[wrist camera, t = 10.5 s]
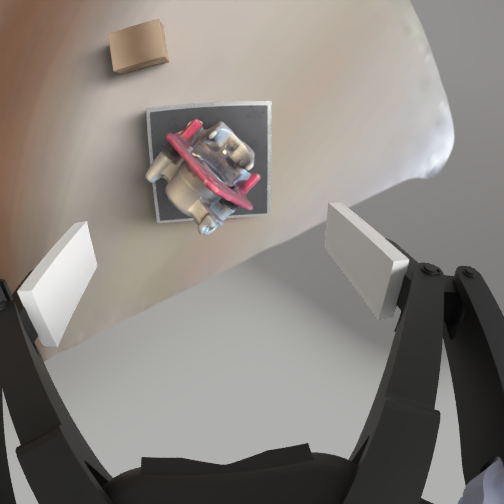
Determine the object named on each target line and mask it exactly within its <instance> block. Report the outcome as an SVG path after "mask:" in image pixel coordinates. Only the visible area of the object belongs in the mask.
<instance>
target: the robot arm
mask: <svg viewBox="0 0 504 504" xmlns="http://www.w3.org/2000/svg"><path fill="white" fill-rule="evenodd" d="M324 248H325V249H326V251H327V252H328V253H329V255H330V256H331V257H332V259H333V260H334V261H335V263H336V264H337V265H338V267H339V268H340V269H341V270H342V272H343V273H344V274H345V276H346V277H347V278H348V280H349V281H350V282H351V284H352V285H353V286H354V287H355V289H356V290H357V292H358V293H359V294H360V296H361V297H362V298H363V300H364V301H365V303H366V304H367V305H368V307H369V308H370V309H371V311H372V312H373V313H374V315H375V316H376V318H377V319H378V320H381V319H386V318H391V317H393V315H394V312H395V309H396V306H398V307H399V308H400V309H401V314H400V317H399V320H398V323H397V326H396V328H395V336H394V340H393V343H392V347H391V351H390V354H389V357H388V360H387V364H386V367H385V370H384V373H383V377H382V380H381V382H380V385H379V388H378V391H377V394H376V397H375V400H374V403H373V405H372V408H371V410H370V413H369V416H368V418H367V421H366V423H365V426H364V428H363V430H362V433H361V435H360V438H359V440H358V442H357V445H356V447H355V449H354V451H353V452H352V454H351V456H350V458H349V460H347V459H345V458H342V457H339V456H336V455H331V454H326V453H312V452H311V451H310V448H309V445H308V443H306V444H301V445H296V446H292V447H286V448H281V449H274V450H268V451H265V452H262V453H260V454H257V455H254V456H252V457H249V458H246V459H243V460H240V461H237V462H234V463H231V464H227V465H220V464H213V463H207V462H201V461H195V460H190V459H185V458H150V457H142V460H141V467H139V468H135V469H132V470H129V471H126V472H124V473H122V474H120V475H118V476H116V477H114V478H112V476H111V475H110V474H109V473H108V472H107V471H106V470H105V468H104V467H103V466H102V465H101V463H100V462H99V460H98V459H97V458H96V456H95V454H94V453H93V451H92V450H91V448H90V447H89V445H88V444H87V443H86V441H85V439H84V438H83V436H82V435H81V433H80V431H79V429H78V428H77V426H76V424H75V423H74V421H73V419H72V418H71V416H70V414H69V412H68V410H67V409H66V407H65V405H64V403H63V401H62V399H61V398H60V396H59V394H58V392H57V390H56V388H55V386H54V384H53V382H52V380H51V377H50V375H49V373H48V371H47V369H46V366H45V364H44V362H43V360H42V357H41V355H40V352H39V350H38V348H37V346H36V344H35V340H36V338H37V336H38V337H39V339H40V341H41V343H42V345H43V347H58V345H59V343H60V341H61V338H62V336H63V334H64V332H65V329H66V327H67V325H68V323H69V321H70V319H71V317H72V315H73V313H74V310H75V308H76V306H77V304H78V302H79V300H80V298H81V296H82V294H83V293H84V291H85V289H86V287H87V285H88V283H89V281H90V279H91V277H92V275H93V274H94V272H95V270H96V268H97V266H98V265H97V262H96V258H95V254H94V250H93V246H92V242H91V238H90V233H89V229H88V225H87V221H84V222H76V223H74V224H73V225H72V226H71V227H70V228H69V230H68V231H67V232H66V233H65V234H64V235H63V236H62V237H61V238H60V239H59V241H58V242H57V243H56V244H55V245H54V246H53V247H52V249H51V250H50V251H49V252H48V253H47V254H46V256H45V257H44V258H43V259H42V260H41V262H40V263H39V264H38V265H37V266H36V268H34V269H33V270H32V271H30V272H29V274H28V275H27V276H26V277H25V279H24V280H23V281H22V282H21V284H20V285H19V286H18V288H17V289H16V290H15V292H14V293H13V294H12V295H11V293H10V290H9V288H8V285H7V283H6V281H5V280H4V279H0V504H16V501H15V497H14V492H13V488H12V483H11V478H10V472H9V466H8V460H7V453H6V446H5V435H4V424H3V404H2V388H3V392H4V396H5V399H6V403H7V406H8V409H9V412H10V416H11V419H12V421H13V424H14V427H15V430H16V433H17V435H18V438H19V441H20V444H21V445H20V446H19V447H17V448H16V454H17V458H18V460H19V463H20V465H21V467H22V469H23V472H24V474H25V476H26V479H27V481H28V483H29V485H30V487H31V489H32V491H33V493H34V495H35V497H36V499H37V501H38V503H39V504H433V503H431V502H429V501H426V500H424V499H422V498H421V496H422V492H423V489H424V486H425V483H426V479H427V475H428V472H429V469H430V465H431V460H432V457H433V452H434V448H435V444H436V438H437V433H438V429H439V424H440V412H439V411H437V410H434V408H435V400H436V394H437V388H438V380H439V372H440V363H441V352H442V339H444V343H445V348H446V352H447V357H448V361H449V366H450V371H451V377H452V382H453V388H454V393H455V400H456V406H457V414H458V422H459V432H460V443H461V457H462V467H463V474H464V479H465V484H466V487H465V489H464V492H463V497H462V498H460V500H459V502H458V504H504V316H503V314H502V312H501V310H500V308H499V306H498V304H497V302H496V300H495V299H494V297H493V295H492V293H491V291H490V290H489V288H488V286H487V284H486V283H485V281H484V279H483V277H482V276H481V274H480V273H479V272H478V271H476V270H475V269H474V268H472V267H470V266H468V267H467V266H459V267H458V268H457V269H456V272H455V275H454V276H446V275H444V274H443V272H442V270H441V269H440V268H438V267H436V266H434V265H432V264H429V263H418V262H417V261H415V260H414V259H413V258H412V257H411V256H410V255H409V254H407V253H405V251H404V250H403V249H401V248H400V247H399V246H398V245H397V244H396V243H394V242H393V241H391V240H389V239H387V238H384V237H383V236H381V235H380V234H379V233H378V232H377V231H376V230H374V229H373V228H372V227H371V226H369V225H368V224H367V223H366V222H365V221H364V220H362V219H361V218H360V217H359V216H357V215H356V214H355V213H354V212H352V211H351V210H350V209H349V208H347V207H346V206H345V205H344V204H342V203H328V214H327V225H326V236H325V246H324Z"/></svg>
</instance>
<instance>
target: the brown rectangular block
mask: <svg viewBox="0 0 504 504" xmlns="http://www.w3.org/2000/svg"><path fill="white" fill-rule="evenodd" d="M108 35H109V43H110V51H111V58H112V65H113V71H114V72H117V73H120V74H125V73H129V72H132V71H135V70H139V69H142V68H146V67H149V66H153V65H157V64H161V63H165V62H169V58H168V52H167V45H166V39H165V32H164V27H163V25H162V23H161V22H160V20H159V19H157V20H153V21H149V22H145V23H142V24H138V25H135V26H132V27H128V28H125V29H122V30H119V31H116V32H113V33H110V34H108Z"/></svg>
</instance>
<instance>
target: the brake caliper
mask: <svg viewBox="0 0 504 504" xmlns="http://www.w3.org/2000/svg"><path fill="white" fill-rule="evenodd" d="M202 124H203V122H201V121H200V120H198V119H194V120H193V121H191V122H189V123H188V125H187V127H186V128H185V129H184V130H183V131H180V132H177V133H175V134H172V133H168V134H167V135H166V139H167V140H168V142H167V143H166V144H165V145H164V146H163V148H162V150H161V152H160V153H159V155H158V156H157V157H156V159H155V160H154V162H153V163H152V164H151V165H150V167H149V169H148V171H147V172H146V174H145V177H146V179H147V180H148V181H149V182H151V183H153V182H155V181H156V180H158V179H160V178H165V179H166V180H167V182H168V184H167V186H166V194H167V197H168V199H169V200H170V201H171V203H172V204H173V205H174V206H175V207H176V208H177V209H178V210H180V211H181V212H182V213H184V214H186V215H188V216H190V217H192V218H193V219H194V220H195V221H196V223H197V224H198V225H199V226H198V231H199V233H200V234H204V235H209V234H211V233H212V232H214V231H215V230H217V229H218V228H219V227H221V226H222V225H223V220H224V219H225V218H226V217H228V216H229V215H230V214H232V213H233V212H234V211H235V210H236V209H237V208H238V207H239V206H240V207H242V208H245V209H246V210H249V211H251V210H252V209H253V206H252V204H251V203H250V201H249V200H248V199H247V197H246V194H247V192H248V191H249V190H250V189H251V188H252V187H253V186H254V185H255V184H256V183H257V182H258V181H259V180H260V178H261V177H260V175H259V174H257V173H249V172H247V171H249V170H250V169H251V168H252V167H253V165H254V157H255V154H254V151H253V150H252V149H251V148H250V147H249V146H248V145H247V144H246V143H245V142H243V141H242V140H240V139H239V138H238V137H237V136H236V135H235V134H234V133H233V131H232V130H231V129H230V128H229V127H228V126H227V125H226V124H225V123H224V122H222V121H220V122H218V123H217V124H216V125H214V126H213V127H211V128H209V129H207V130H205V129H203V126H202Z"/></svg>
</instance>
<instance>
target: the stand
mask: <svg viewBox="0 0 504 504" xmlns="http://www.w3.org/2000/svg"><path fill="white" fill-rule="evenodd" d="M146 115H147V131H148V144H149V156H150V165H151V164H152V163H153V162H154V160H155V159H156V157H157V156H158V155H159V153H160V152H161V150H162V148H163V146H164V145H165V144H166V143H167V142H168V140H167V139H166V135H167V134H168V133H172V134H175V133H177V132H180V131H183V130H184V129H185V128H186V127H187V125H188V123H189V122H191V121H193V120H194V119H198V120H200V121H201V122H203V124H202V126H203V129H205V130H207V129H209V128H211V127H213V126H214V125H216V124H217V123H218V122H220V121H222V122H224V123H225V124H226V125H227V126H228V127H229V128H230V129H231V130H232V131H233V133H234V134H235V135H236V136H237V137H238V138H239V139H240V140H242V141H243V142H245V143H246V144H247V145H248V146H249V147H250V148H251V149H252V150H253V151H254V154H255V157H254V165H253V167H252V168H251V169H250V170H249V171H247V172H249V173H257V174H259V175H260V177H261V178H260V180H259V181H258V182H257V183H256V184H255V185H254V186H253V187H252V188H251V189H250V190H249V191H248V192H247V194H246V197H247V199H248V200H249V201H250V203H251V204H252V206H253V209H252V210H251V211H249V210H246V209H245V208H242V207H240V206H239V207H238V208H237V209H236V210H235V211H234V212H233V213H232V214H230V215H229V216H228V217H226V218H237V217H254V216H270V214H271V101H233V102H210V103H195V104H183V105H172V106H163V107H155V108H147V109H146ZM167 184H168V182H167V180H166V179H165V178H160V179H158V180H156V181H155V182H153V183H152V186H153V195H154V203H155V211H156V218H157V223H169V222H181V221H194V219H193V218H192V217H190V216H188V215H186V214H184V213H182V212H181V211H180V210H178V209H177V208H176V207H175V206H174V205H173V204H172V203H171V201H170V200H169V199H168V197H167V194H166V186H167Z"/></svg>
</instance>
